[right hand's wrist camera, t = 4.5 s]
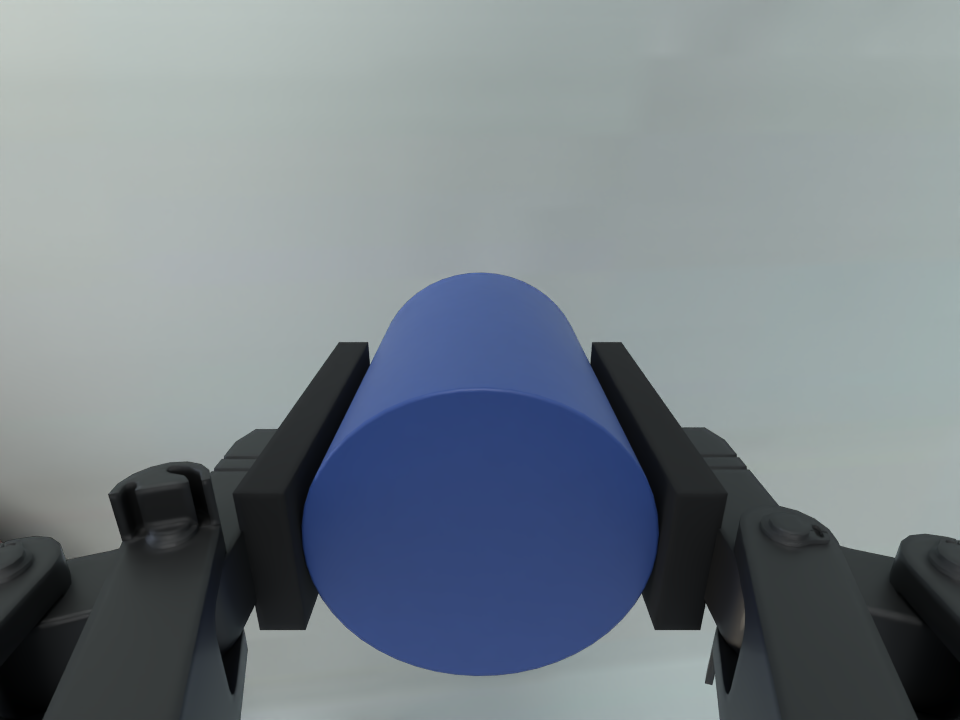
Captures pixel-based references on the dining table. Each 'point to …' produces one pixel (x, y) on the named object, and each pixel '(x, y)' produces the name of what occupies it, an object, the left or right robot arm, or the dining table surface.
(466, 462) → the can
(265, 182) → the dining table surface
